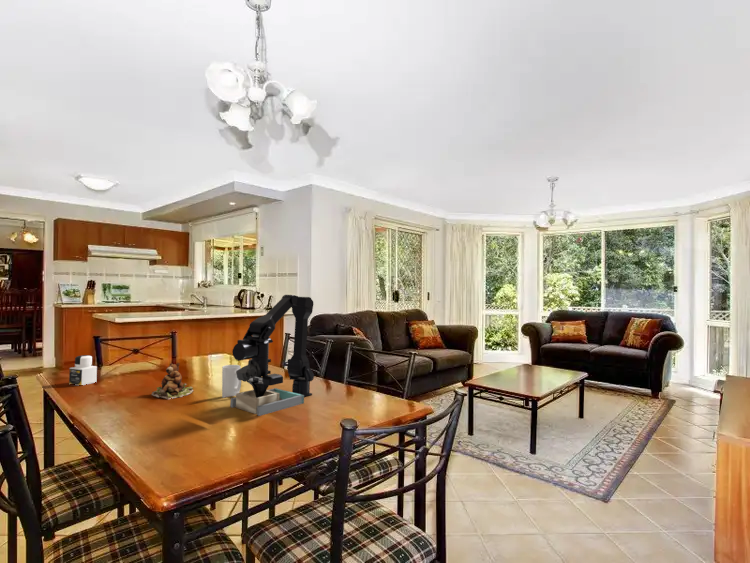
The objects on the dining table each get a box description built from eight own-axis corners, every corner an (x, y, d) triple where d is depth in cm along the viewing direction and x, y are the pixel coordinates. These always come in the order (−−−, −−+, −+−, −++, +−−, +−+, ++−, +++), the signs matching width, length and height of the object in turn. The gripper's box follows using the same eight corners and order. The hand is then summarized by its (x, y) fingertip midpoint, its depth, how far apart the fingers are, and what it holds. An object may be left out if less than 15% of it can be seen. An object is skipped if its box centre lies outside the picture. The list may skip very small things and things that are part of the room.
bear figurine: (143, 397, 160) (144, 366, 160) (171, 388, 175) (172, 359, 175) (172, 401, 157) (173, 368, 157) (199, 391, 171) (200, 362, 171)
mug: (218, 397, 162) (218, 366, 163) (233, 393, 168) (234, 364, 168) (232, 402, 156) (233, 370, 156) (247, 398, 161) (248, 367, 161)
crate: (259, 401, 153) (259, 388, 153) (279, 407, 146) (279, 393, 146) (235, 407, 145) (236, 393, 145) (255, 414, 138) (256, 399, 138)
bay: (275, 398, 162) (275, 388, 162) (303, 406, 153) (304, 395, 153) (230, 409, 146) (230, 398, 146) (259, 419, 136) (259, 407, 137)
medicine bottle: (68, 384, 178) (69, 356, 178) (84, 381, 184) (85, 354, 185) (81, 386, 176) (82, 357, 176) (96, 382, 182) (97, 355, 182)
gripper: (224, 356, 146) (223, 401, 145) (258, 362, 134) (256, 411, 134) (250, 352, 154) (249, 394, 154) (284, 358, 143) (283, 404, 143)
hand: (259, 400), depth 146 cm, fingers closed
